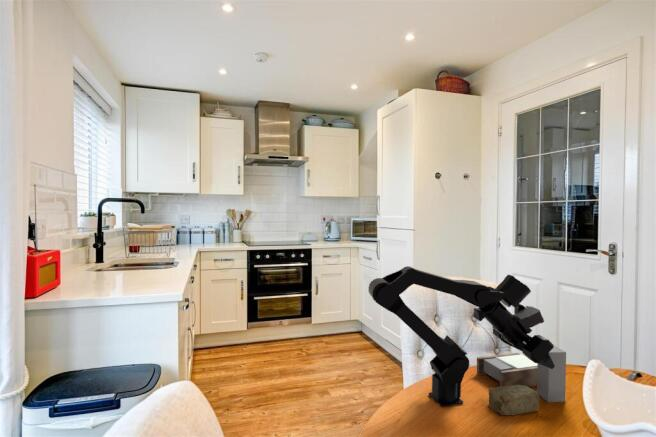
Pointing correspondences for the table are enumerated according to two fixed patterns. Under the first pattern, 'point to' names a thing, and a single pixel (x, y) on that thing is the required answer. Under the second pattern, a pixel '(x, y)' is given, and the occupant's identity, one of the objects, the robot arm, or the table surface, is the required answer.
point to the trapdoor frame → (511, 373)
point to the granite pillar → (553, 377)
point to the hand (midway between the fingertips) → (541, 360)
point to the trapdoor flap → (506, 364)
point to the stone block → (513, 399)
